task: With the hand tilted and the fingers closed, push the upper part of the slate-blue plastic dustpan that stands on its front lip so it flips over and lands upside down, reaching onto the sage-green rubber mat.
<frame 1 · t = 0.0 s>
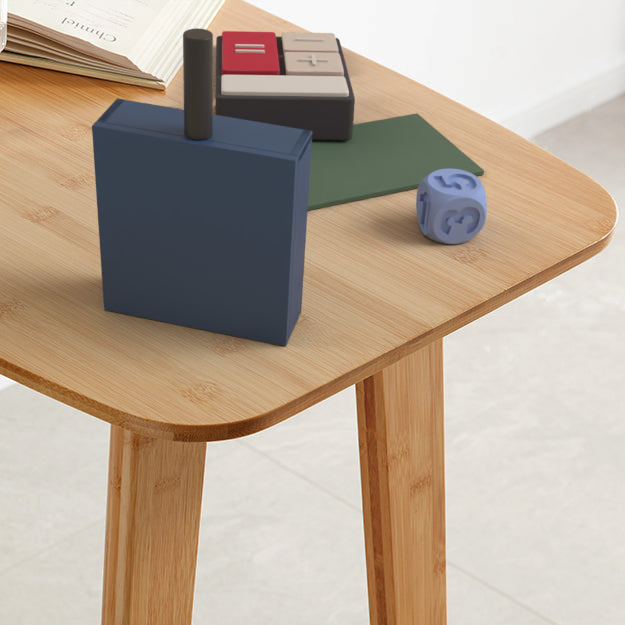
decorative dice: (447, 232, 82), on the table
calculator: (280, 104, 97), on the table, touching mat
mat: (317, 169, 88), on the table
dustpan: (195, 325, 71), on the table
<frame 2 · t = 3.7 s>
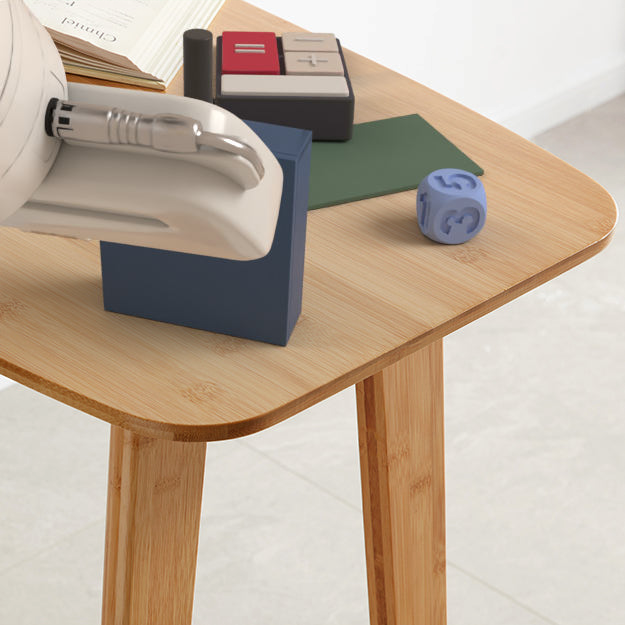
hand: (63, 218, 47), 18 cm above the table, tool tilted 45°, fingers closed
nothing on the table moved.
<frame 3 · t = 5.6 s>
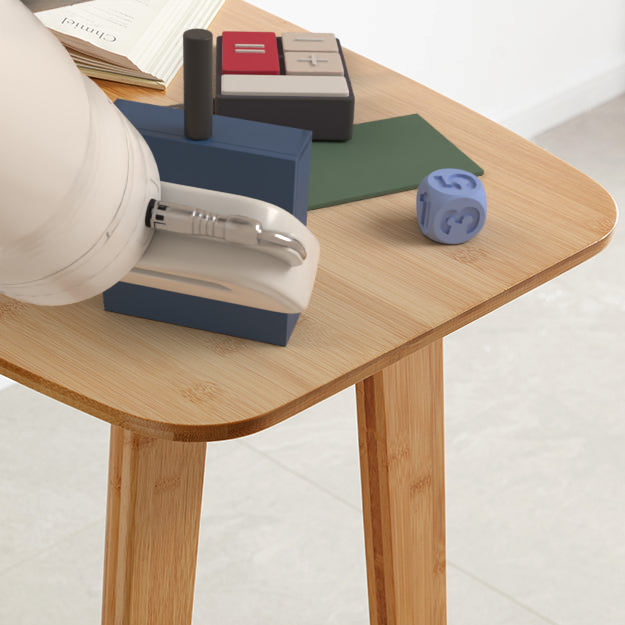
hand: (141, 264, 59), 10 cm above the table, tool tilted 45°, fingers closed
nothing on the table moved.
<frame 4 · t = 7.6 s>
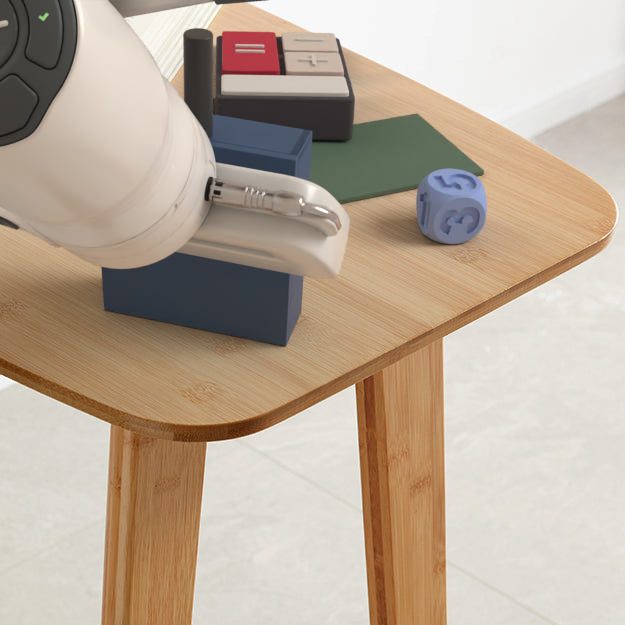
hand: (188, 239, 66), 7 cm above the table, tool tilted 45°, fingers closed, pressing on dustpan
dustpan: (195, 325, 71), on the table, touching gripper
everything else where it was.
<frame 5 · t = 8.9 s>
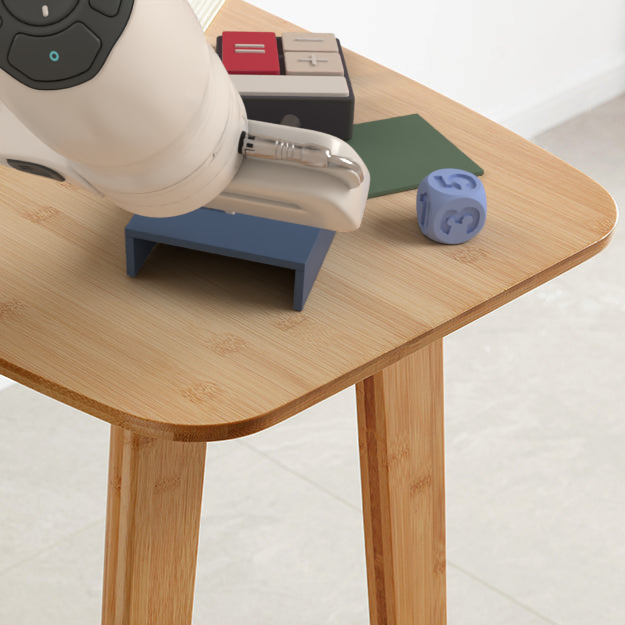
hand: (216, 198, 70), 7 cm above the table, tool tilted 45°, fingers closed
dustpan: (213, 249, 72), point 4 cm above the table, tilted 88°, touching mat
everything else where it was.
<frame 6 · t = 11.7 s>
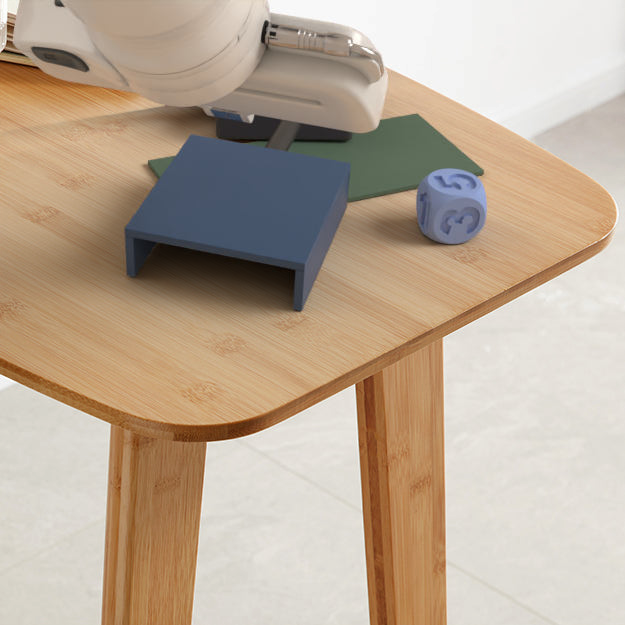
hand: (233, 108, 71), 11 cm above the table, tool tilted 45°, fingers closed
nothing on the table moved.
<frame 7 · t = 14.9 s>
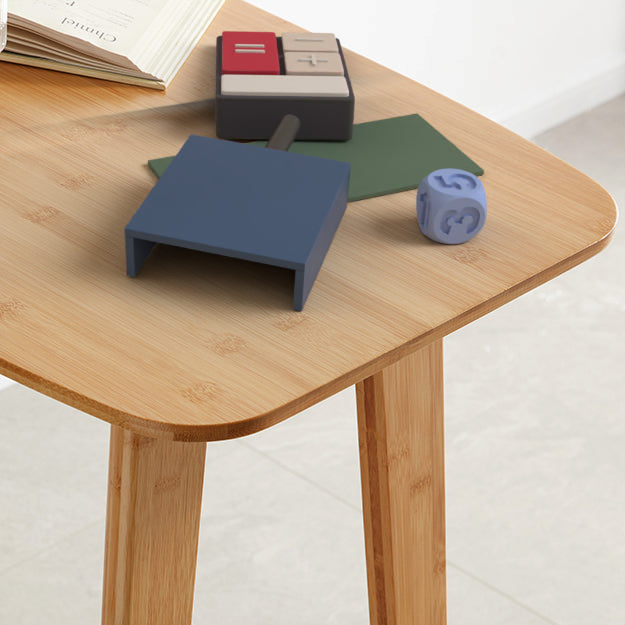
nothing on the table moved.
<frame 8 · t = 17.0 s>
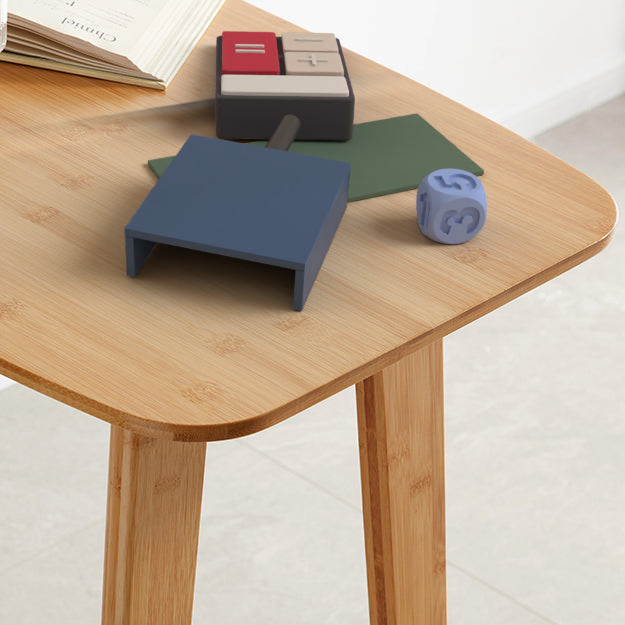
nothing on the table moved.
at the end: dustpan tilted 88°; dustpan point 3.6 cm above the table; dustpan touching mat, table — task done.
